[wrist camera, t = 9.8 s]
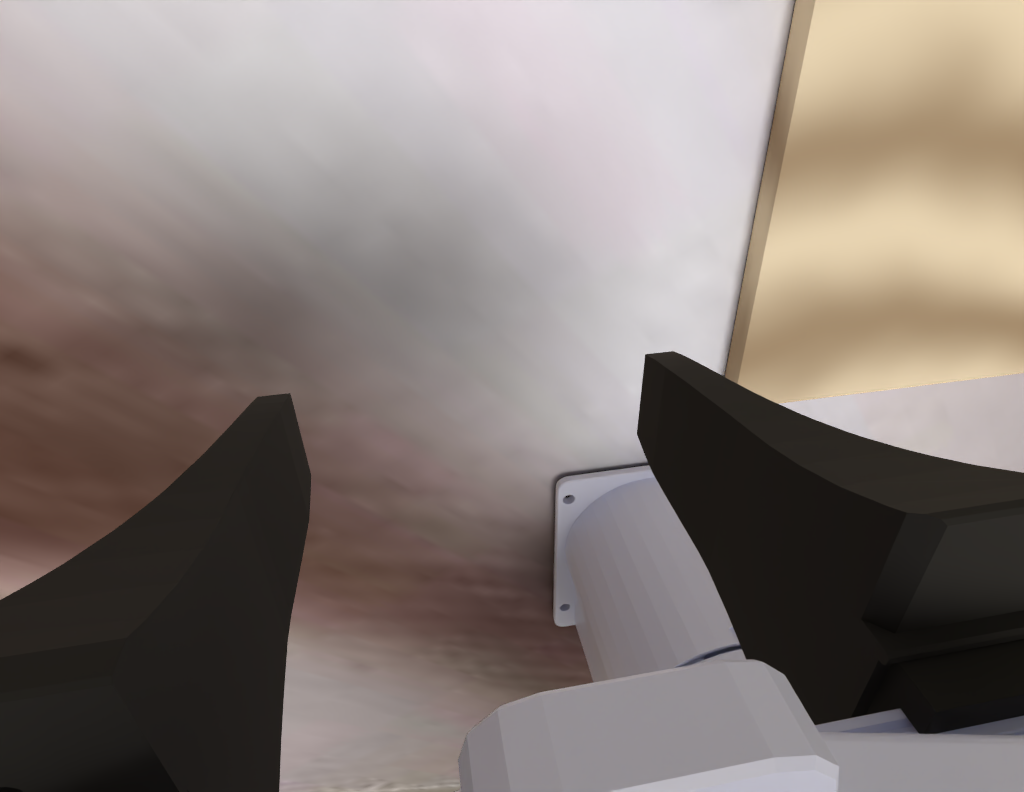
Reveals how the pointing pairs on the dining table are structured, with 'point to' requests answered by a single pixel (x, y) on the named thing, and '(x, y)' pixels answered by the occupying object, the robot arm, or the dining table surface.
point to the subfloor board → (889, 203)
